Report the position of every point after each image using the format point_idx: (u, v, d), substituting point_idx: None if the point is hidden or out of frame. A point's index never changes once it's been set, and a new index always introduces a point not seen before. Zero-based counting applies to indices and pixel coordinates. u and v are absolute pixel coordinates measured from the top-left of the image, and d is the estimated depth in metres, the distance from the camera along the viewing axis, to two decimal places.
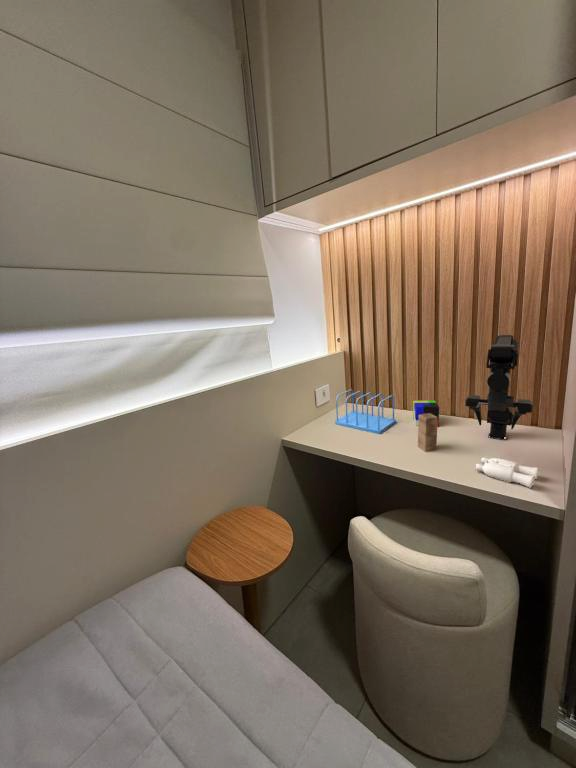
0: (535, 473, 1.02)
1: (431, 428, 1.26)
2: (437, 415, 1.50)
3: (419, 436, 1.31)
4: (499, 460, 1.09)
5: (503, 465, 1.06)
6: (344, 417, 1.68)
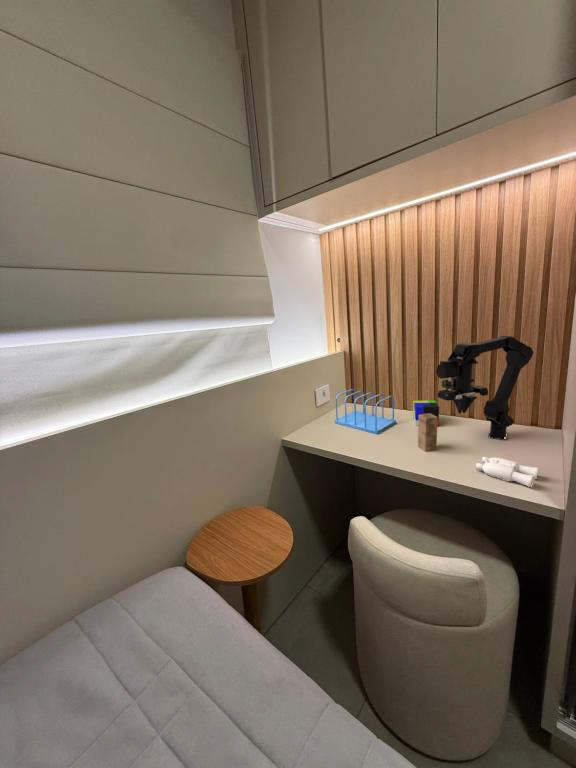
0: (535, 473, 1.03)
1: (431, 428, 1.26)
2: (437, 415, 1.50)
3: (419, 436, 1.31)
4: (500, 459, 1.10)
5: (503, 464, 1.06)
6: (345, 416, 1.69)
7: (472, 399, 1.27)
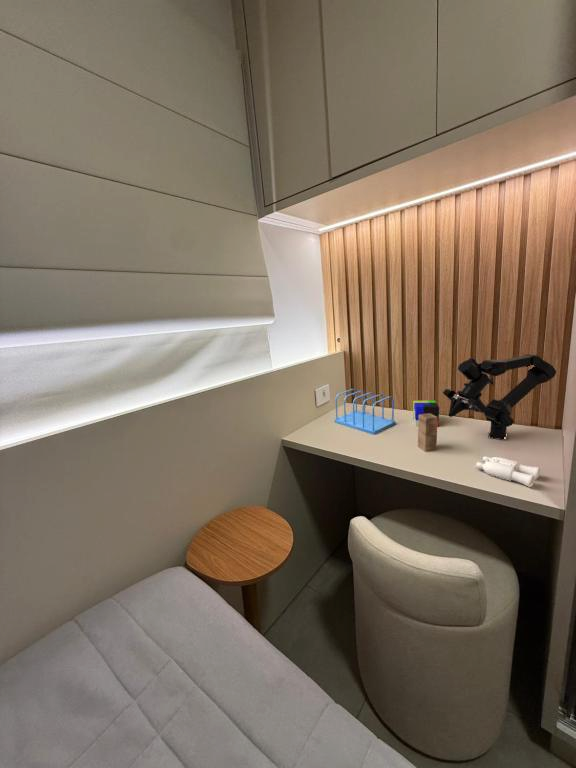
0: (536, 473, 1.03)
1: (431, 428, 1.26)
2: (437, 415, 1.50)
3: (419, 436, 1.31)
4: (500, 459, 1.10)
5: (503, 464, 1.07)
6: None
7: (458, 401, 1.27)
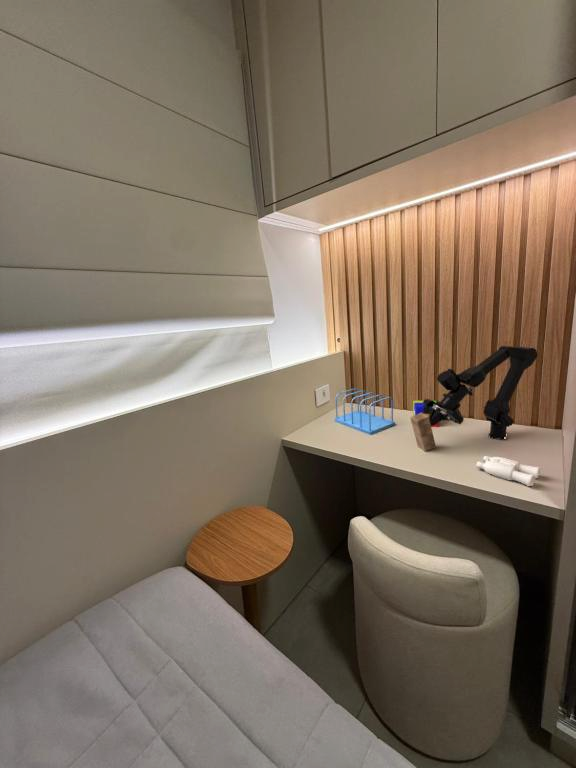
0: (536, 472, 1.03)
1: (425, 428, 1.26)
2: None
3: (416, 437, 1.31)
4: (501, 459, 1.10)
5: (504, 463, 1.07)
6: (346, 415, 1.70)
7: (436, 411, 1.26)
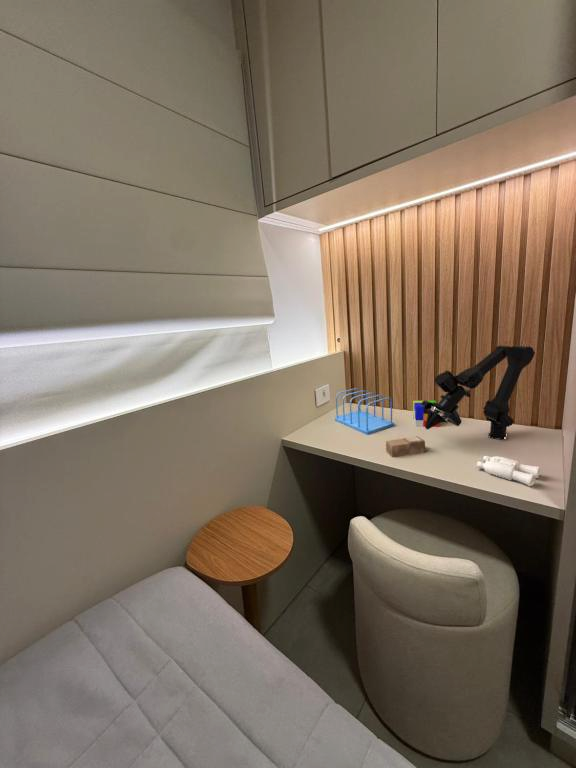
0: (536, 472, 1.03)
1: (402, 450, 1.26)
2: None
3: None
4: (501, 458, 1.10)
5: (504, 463, 1.07)
6: (346, 415, 1.71)
7: (434, 413, 1.26)
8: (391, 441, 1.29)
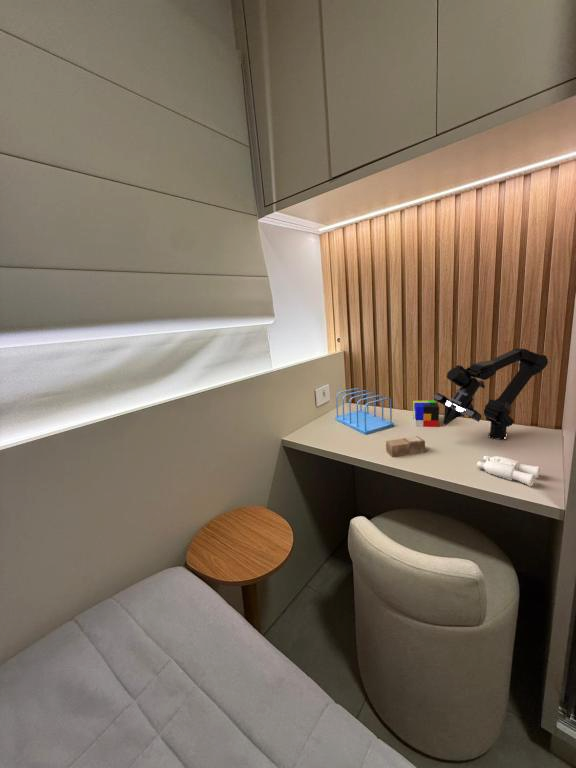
0: (536, 472, 1.03)
1: (402, 450, 1.26)
2: (437, 415, 1.50)
3: None
4: (501, 458, 1.10)
5: (504, 463, 1.07)
6: (347, 414, 1.71)
7: (453, 410, 1.27)
8: (391, 441, 1.29)
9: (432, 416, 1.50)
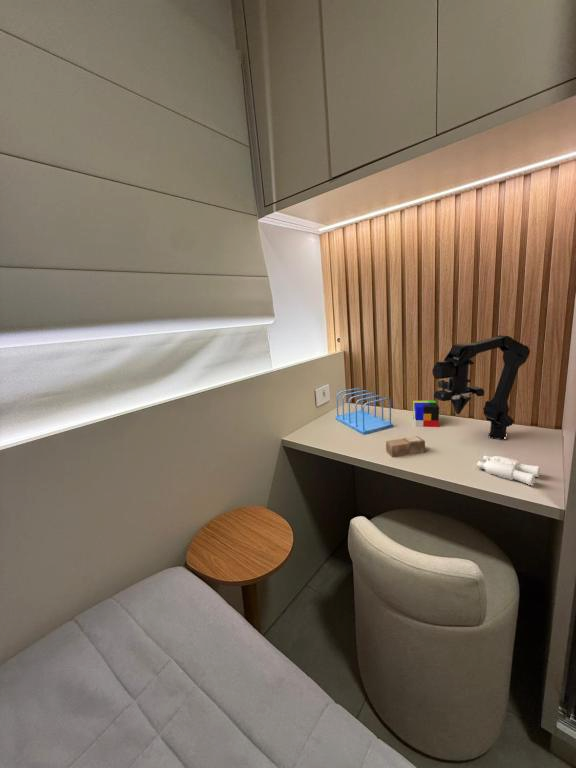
0: (536, 471, 1.03)
1: (402, 450, 1.26)
2: (437, 415, 1.50)
3: None
4: (501, 458, 1.11)
5: (504, 463, 1.07)
6: (347, 414, 1.72)
7: (466, 400, 1.26)
8: (391, 441, 1.29)
9: (432, 416, 1.50)
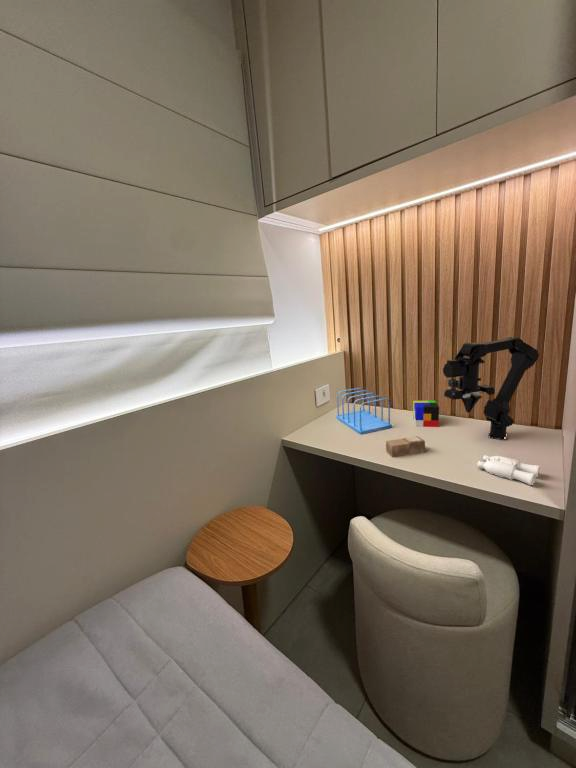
0: (536, 471, 1.04)
1: (402, 450, 1.26)
2: (437, 415, 1.50)
3: None
4: (501, 458, 1.11)
5: (504, 463, 1.07)
6: (348, 414, 1.72)
7: (477, 398, 1.27)
8: (391, 441, 1.29)
9: (432, 416, 1.50)
